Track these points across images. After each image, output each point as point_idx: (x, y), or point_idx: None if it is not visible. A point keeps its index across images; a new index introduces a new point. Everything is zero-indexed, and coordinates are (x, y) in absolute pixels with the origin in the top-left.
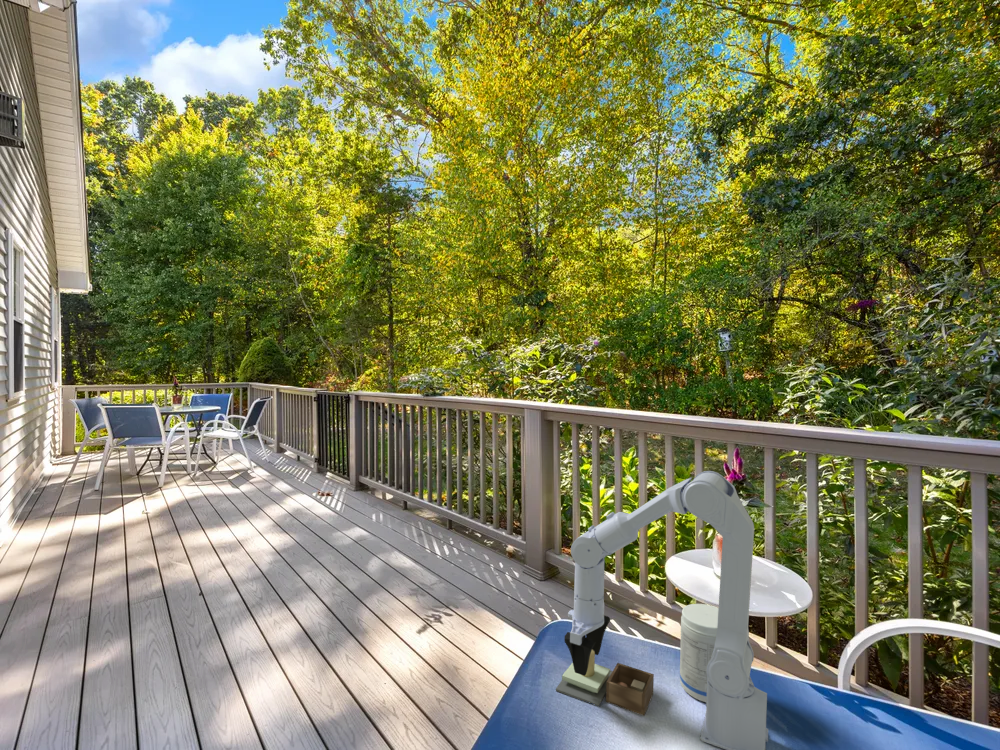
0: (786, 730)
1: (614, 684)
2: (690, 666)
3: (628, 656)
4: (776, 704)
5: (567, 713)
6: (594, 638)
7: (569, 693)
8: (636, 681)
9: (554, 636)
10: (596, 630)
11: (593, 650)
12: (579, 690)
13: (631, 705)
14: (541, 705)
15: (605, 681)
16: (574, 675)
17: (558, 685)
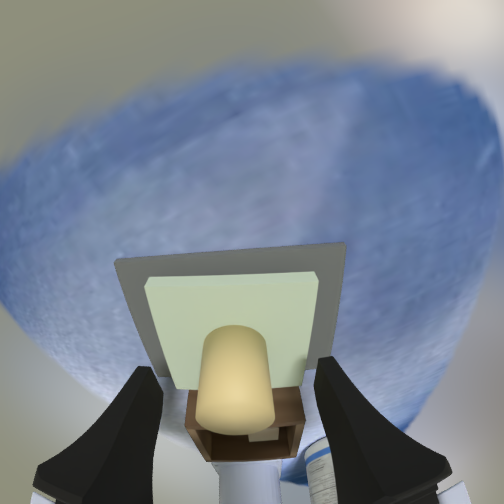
0: (296, 477)
1: (191, 435)
2: (319, 489)
3: (418, 346)
4: None
5: (77, 322)
6: (336, 433)
7: (130, 308)
8: (272, 432)
9: (454, 99)
10: (343, 473)
11: (318, 386)
12: None
13: None
14: (43, 253)
15: None
16: (181, 324)
17: (135, 262)
